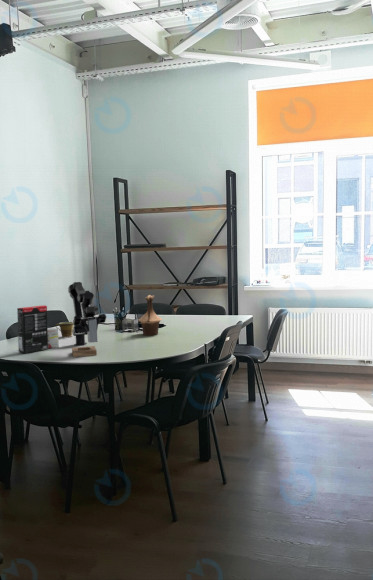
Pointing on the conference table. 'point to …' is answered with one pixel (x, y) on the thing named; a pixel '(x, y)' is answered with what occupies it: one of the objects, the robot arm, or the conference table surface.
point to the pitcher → (150, 319)
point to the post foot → (84, 351)
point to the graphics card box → (32, 329)
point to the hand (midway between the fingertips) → (92, 330)
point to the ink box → (53, 337)
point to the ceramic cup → (66, 328)
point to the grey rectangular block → (92, 330)
